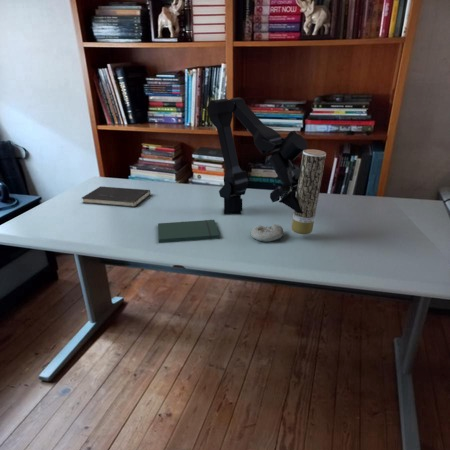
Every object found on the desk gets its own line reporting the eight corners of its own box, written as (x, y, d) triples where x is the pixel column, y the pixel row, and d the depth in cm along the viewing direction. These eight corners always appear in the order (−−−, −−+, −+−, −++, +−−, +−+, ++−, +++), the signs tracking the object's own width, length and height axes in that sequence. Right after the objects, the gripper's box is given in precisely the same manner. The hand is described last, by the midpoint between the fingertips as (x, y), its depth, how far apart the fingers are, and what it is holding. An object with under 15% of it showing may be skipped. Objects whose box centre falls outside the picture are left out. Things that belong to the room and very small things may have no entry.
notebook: (158, 242, 136) (158, 239, 135) (158, 226, 148) (157, 223, 147) (219, 238, 138) (219, 234, 138) (214, 222, 150) (214, 219, 149)
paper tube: (315, 231, 137) (330, 152, 124) (305, 236, 133) (319, 156, 119) (298, 225, 141) (310, 148, 127) (287, 230, 136) (298, 151, 123)
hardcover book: (134, 207, 164) (134, 201, 163) (82, 203, 169) (81, 197, 168) (150, 194, 178) (150, 189, 176) (101, 191, 183) (100, 186, 181)
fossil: (274, 217, 142) (291, 231, 136) (273, 227, 145) (289, 241, 138) (246, 223, 138) (262, 237, 131) (245, 233, 140) (260, 247, 133)
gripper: (279, 159, 121) (305, 205, 120) (318, 148, 132) (343, 191, 131) (258, 180, 130) (283, 223, 130) (297, 168, 141) (319, 208, 140)
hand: (308, 211), depth 132 cm, fingers closed on paper tube, 6 cm apart
